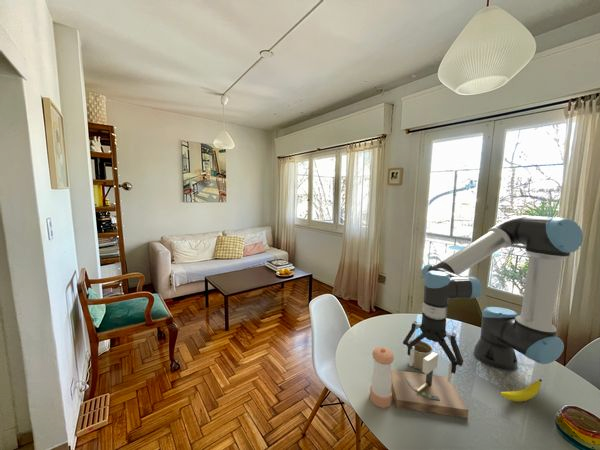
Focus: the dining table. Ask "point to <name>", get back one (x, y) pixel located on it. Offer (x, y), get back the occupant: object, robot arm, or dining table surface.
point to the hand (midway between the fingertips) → (429, 371)
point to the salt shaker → (381, 377)
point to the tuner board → (427, 394)
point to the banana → (523, 392)
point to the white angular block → (429, 368)
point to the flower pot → (421, 353)
